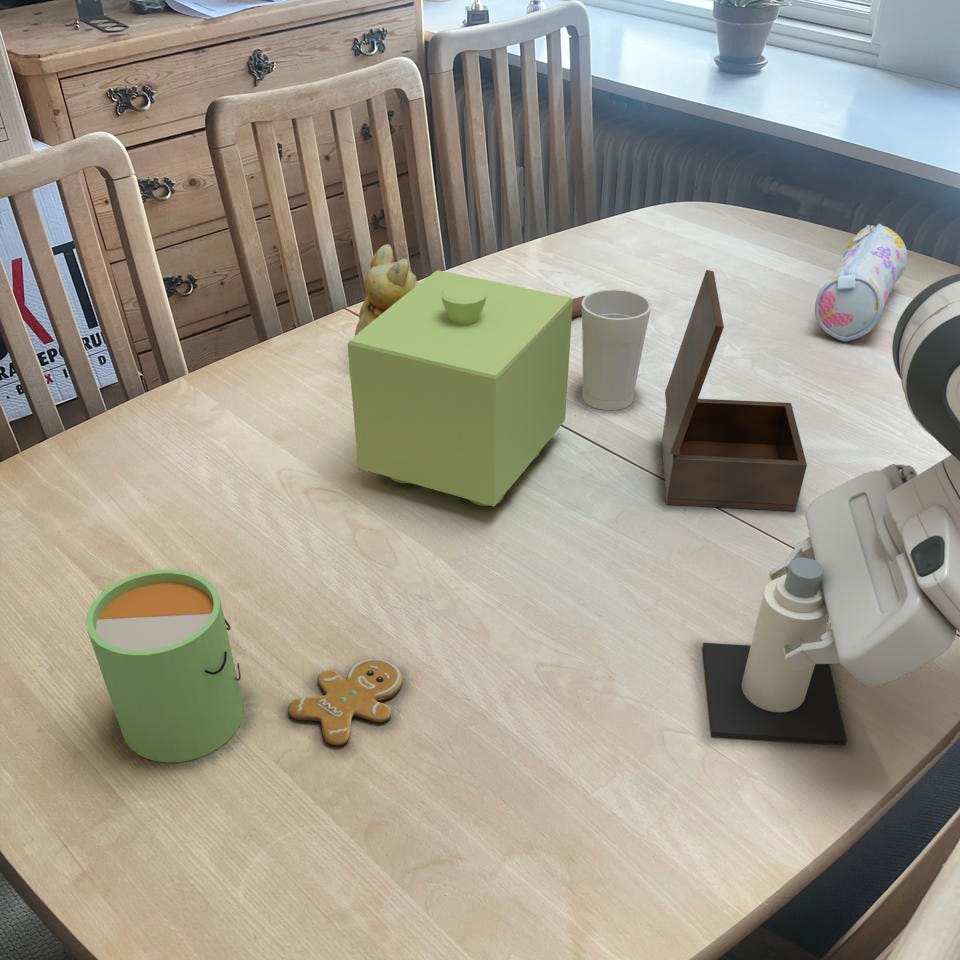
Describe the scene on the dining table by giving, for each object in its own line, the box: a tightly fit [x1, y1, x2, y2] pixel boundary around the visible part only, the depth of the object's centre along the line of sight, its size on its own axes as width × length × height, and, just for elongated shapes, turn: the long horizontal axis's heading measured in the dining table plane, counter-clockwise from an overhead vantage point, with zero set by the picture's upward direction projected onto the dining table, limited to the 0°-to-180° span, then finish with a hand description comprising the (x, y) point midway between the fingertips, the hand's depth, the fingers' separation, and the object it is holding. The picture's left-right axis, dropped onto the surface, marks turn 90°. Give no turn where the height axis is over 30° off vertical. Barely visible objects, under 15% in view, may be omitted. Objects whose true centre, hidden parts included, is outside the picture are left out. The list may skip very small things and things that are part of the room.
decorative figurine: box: [354, 243, 420, 336], centre depth 129 cm, size 10×8×15 cm
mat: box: [702, 642, 848, 746], centre depth 91 cm, size 11×11×1 cm
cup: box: [581, 288, 652, 411], centre depth 124 cm, size 8×8×12 cm
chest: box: [661, 398, 808, 512], centre depth 114 cm, size 14×13×6 cm
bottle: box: [742, 558, 830, 712], centre depth 86 cm, size 5×5×14 cm
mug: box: [85, 568, 244, 763], centre depth 86 cm, size 13×10×12 cm
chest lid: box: [664, 269, 725, 455], centre depth 107 cm, size 14×13×1 cm
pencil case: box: [814, 223, 908, 342], centre depth 142 cm, size 21×9×10 cm, turn 154°
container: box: [347, 269, 573, 507], centre depth 111 cm, size 19×16×20 cm
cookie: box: [287, 658, 403, 746], centre depth 90 cm, size 8×1×10 cm
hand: (780, 621), depth 85 cm, fingers open, 8 cm apart
